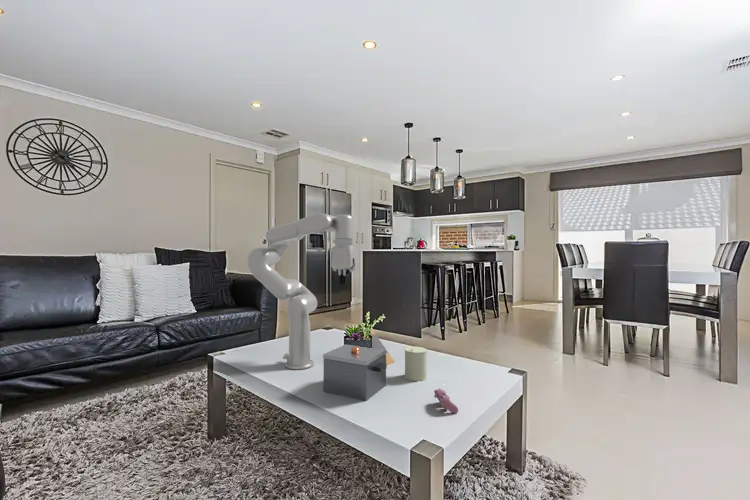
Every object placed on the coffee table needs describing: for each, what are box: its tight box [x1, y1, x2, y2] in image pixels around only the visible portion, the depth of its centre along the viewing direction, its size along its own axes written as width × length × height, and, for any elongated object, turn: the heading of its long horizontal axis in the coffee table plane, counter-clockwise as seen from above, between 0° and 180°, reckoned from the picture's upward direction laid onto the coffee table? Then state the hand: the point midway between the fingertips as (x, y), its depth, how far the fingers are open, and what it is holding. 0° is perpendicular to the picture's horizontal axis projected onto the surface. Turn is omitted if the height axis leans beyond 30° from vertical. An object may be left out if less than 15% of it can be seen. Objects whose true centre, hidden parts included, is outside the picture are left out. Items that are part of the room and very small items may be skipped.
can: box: [403, 346, 428, 382], centre depth 149 cm, size 9×9×12 cm
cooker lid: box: [322, 343, 387, 366], centre depth 136 cm, size 18×16×3 cm
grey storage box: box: [322, 354, 388, 402], centre depth 136 cm, size 21×16×12 cm
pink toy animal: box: [433, 387, 459, 414], centre depth 120 cm, size 10×5×7 cm, turn 8°
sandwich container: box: [372, 328, 396, 366], centre depth 171 cm, size 9×15×15 cm, turn 52°
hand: (343, 284), depth 159 cm, fingers closed
